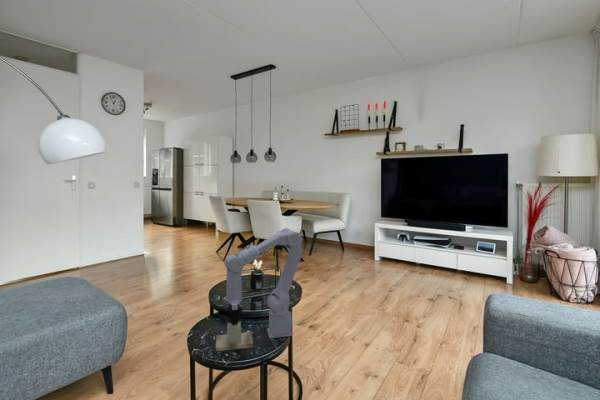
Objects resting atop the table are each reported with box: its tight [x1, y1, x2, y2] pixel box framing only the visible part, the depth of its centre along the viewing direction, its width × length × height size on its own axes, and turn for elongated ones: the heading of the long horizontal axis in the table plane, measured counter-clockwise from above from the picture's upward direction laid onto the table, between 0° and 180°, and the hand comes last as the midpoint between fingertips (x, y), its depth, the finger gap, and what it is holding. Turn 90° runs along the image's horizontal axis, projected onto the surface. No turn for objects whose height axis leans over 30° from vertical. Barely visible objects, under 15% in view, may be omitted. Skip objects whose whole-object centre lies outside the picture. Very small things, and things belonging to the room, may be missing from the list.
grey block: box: [226, 321, 242, 344], centre depth 122 cm, size 5×5×6 cm
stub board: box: [215, 331, 254, 352], centre depth 122 cm, size 14×9×4 cm, turn 104°
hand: (234, 320), depth 122 cm, fingers open, 7 cm apart
